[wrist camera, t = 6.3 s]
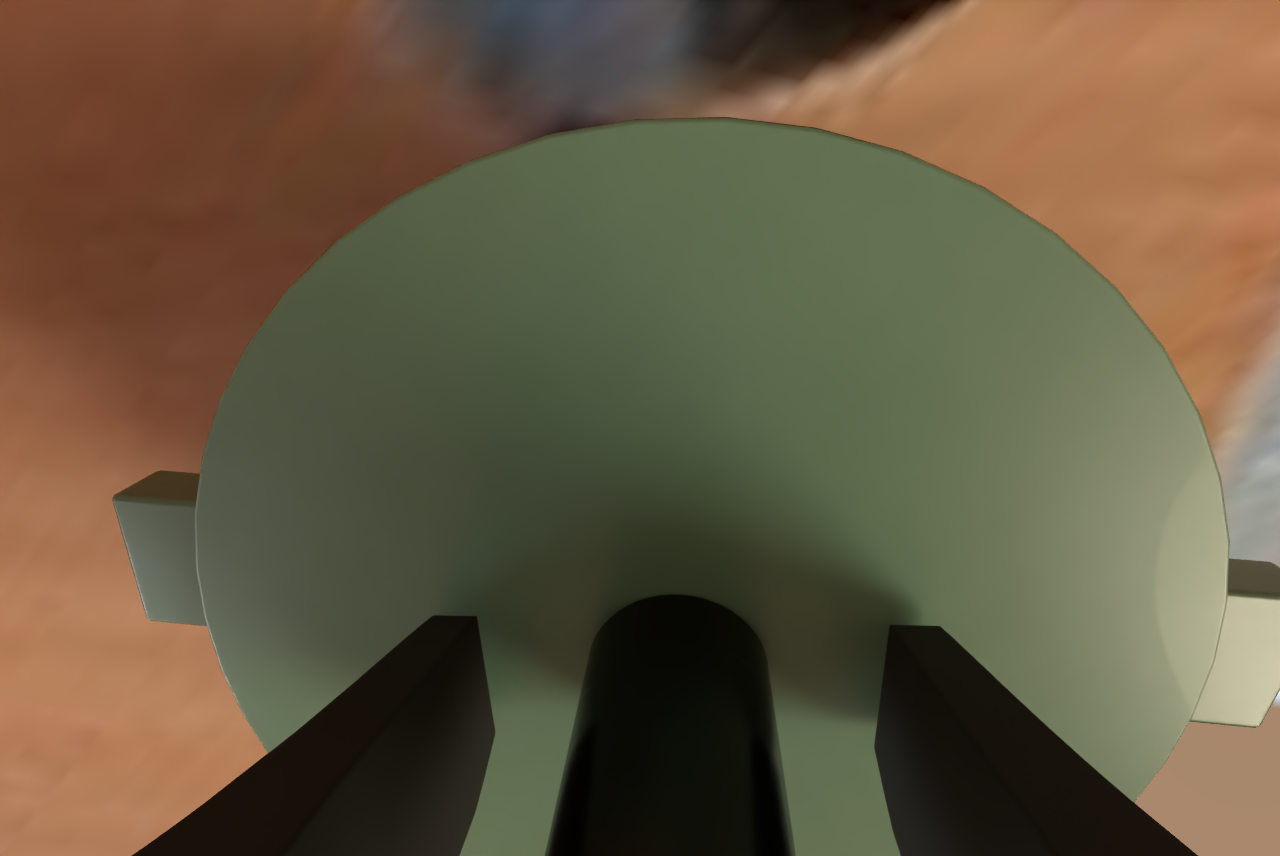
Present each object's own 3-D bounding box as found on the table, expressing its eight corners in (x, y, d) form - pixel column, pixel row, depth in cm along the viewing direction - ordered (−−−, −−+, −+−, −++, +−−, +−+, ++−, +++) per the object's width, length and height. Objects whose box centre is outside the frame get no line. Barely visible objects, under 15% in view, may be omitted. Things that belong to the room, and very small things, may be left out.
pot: (1025, 729, 16) (1174, 983, 11) (331, 661, 17) (179, 864, 12) (1216, 201, 11) (1627, 224, 6) (246, 150, 12) (-59, 136, 7)
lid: (1017, 945, 12) (1204, 1395, 7) (313, 862, 13) (111, 1226, 8) (1356, 155, 7) (2523, 124, 2) (152, 97, 8) (-586, -4, 3)
